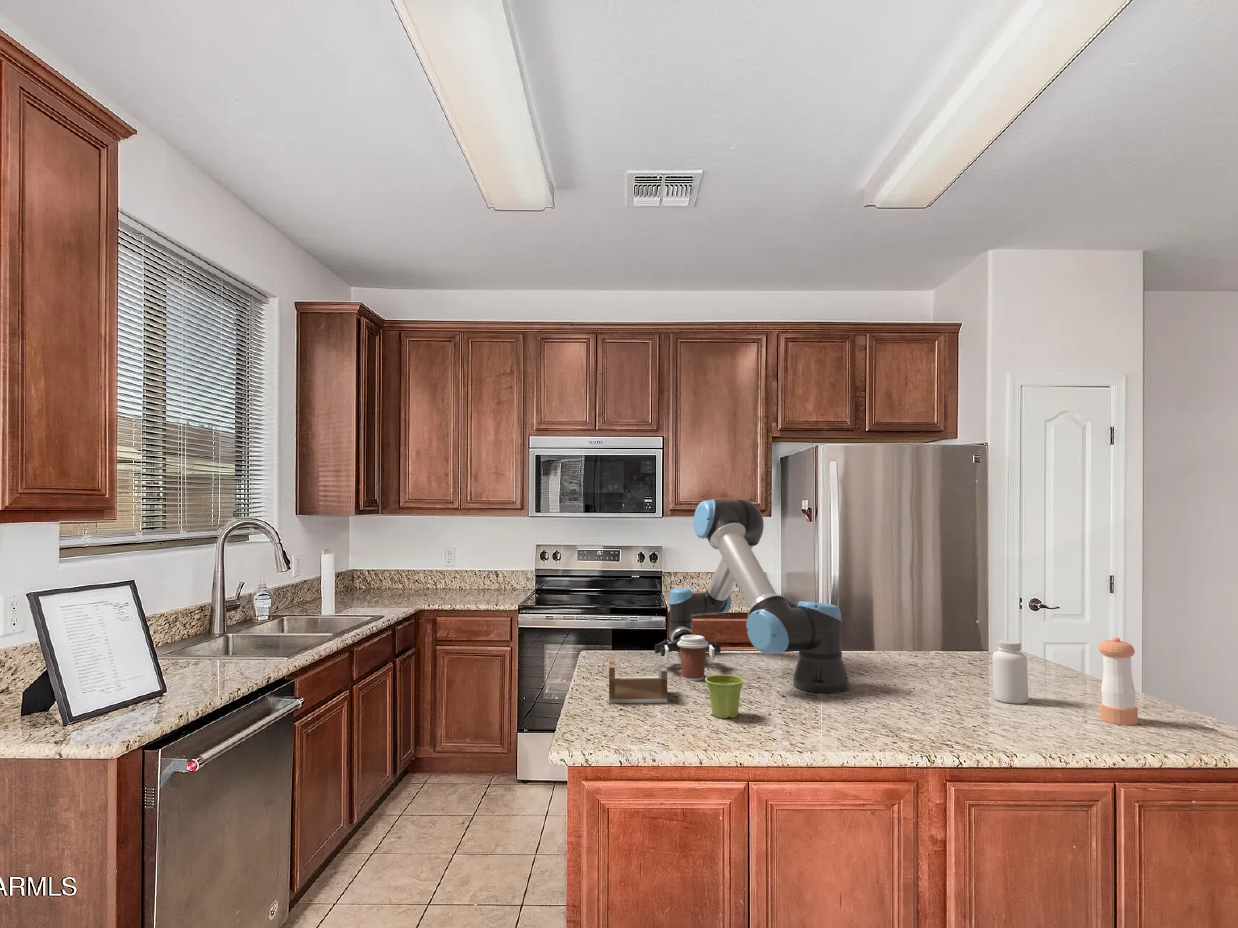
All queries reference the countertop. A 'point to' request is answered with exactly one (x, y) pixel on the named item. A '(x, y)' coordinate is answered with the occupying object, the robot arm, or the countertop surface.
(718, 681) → the plant pot
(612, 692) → the shelf
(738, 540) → the robot arm
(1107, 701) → the pepper shaker
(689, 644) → the coffee cup
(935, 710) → the countertop surface
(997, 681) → the pill bottle
